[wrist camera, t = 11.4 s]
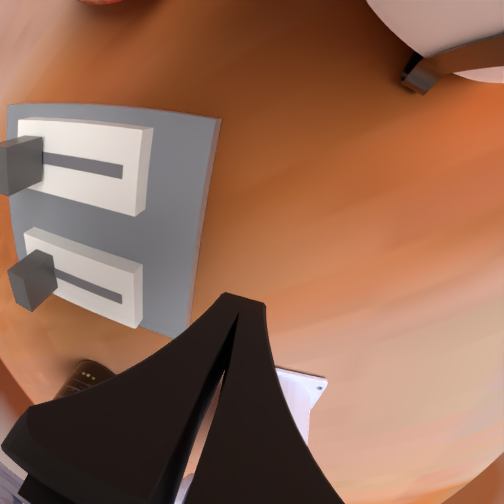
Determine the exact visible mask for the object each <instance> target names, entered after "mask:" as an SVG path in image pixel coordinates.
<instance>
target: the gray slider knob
mask: <svg viewBox="0 0 504 504" xmlns="http://www.w3.org/2000/svg"><path fill="white" fill-rule="evenodd" d="M41 181H42V137H38V136H26V135H24V136H21V137H17V138H14V139H10V140H7V141H4V142H1V143H0V194H3V195H6V196H11V195H13V194H15V193H17V192H19V191H21V190H23V189H25V188H28V187H30V186H32V185H34V184H36V183H39V182H41Z"/></svg>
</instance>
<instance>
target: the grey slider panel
mask: <svg viewBox="0 0 504 504" xmlns="http://www.w3.org/2000/svg"><path fill="white" fill-rule="evenodd" d="M221 122H222V119H221V118H216V117H210V116H204V115H198V114H192V113H185V112H178V111H171V110H164V109H155V108H147V107H137V106H126V105H113V104H97V103H69V102H40V103H17V104H11V105H8V109H7V131H6V141H7V140H10V139H14V138H17V137H21V136H24V135H26V136H38V137H42V181H41V182H39V183H36V184H34V185H32V186H30V187H28V188H25V189H23V190H21V191H19V192H17V193H15V194H13V195H11V196H9V204H10V213H11V220H12V227H13V234H14V240H15V246H16V251H17V256H18V261H19V262H18V263H17V264H15V265H14V266H13V267H11V268H10V269H9V270H7V271H8V275H9V279H10V283H11V287H12V290H13V294H14V297H15V301H16V303H17V304H19V305H21V306H22V307H24V308H26V309H28V310H29V311H31V312H33V311H34V310H35V309H36V308H37V307H38V306H39V305H40V304H41V303H42V302H43V301H44V300H45V299H46V298H47V297H48V296H49V295H50V294H51V293H53V294H55V295H57V296H59V297H61V298H63V299H65V300H67V301H70V302H72V303H74V304H76V305H78V306H81V307H83V308H85V309H87V310H90V311H92V312H94V313H97V314H99V315H101V316H104V317H106V318H109V319H111V320H113V321H116V322H118V323H121V324H123V325H126V326H129V327H131V328H134V329H136V328H137V326H140V327H143V328H145V329H148V330H151V331H154V332H156V333H159V334H162V335H165V336H168V337H171V338H174V339H175V338H176V337H177V336H179V335H180V334H181V333H182V332H184V331H185V330H186V329H187V328H188V327H189V326H190V319H191V311H192V303H193V294H194V287H195V279H196V271H197V264H198V257H199V250H200V243H201V236H202V230H203V223H204V217H205V210H206V204H207V198H208V192H209V186H210V181H211V175H212V169H213V164H214V158H215V153H216V148H217V142H218V137H219V132H220V127H221Z"/></svg>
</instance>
